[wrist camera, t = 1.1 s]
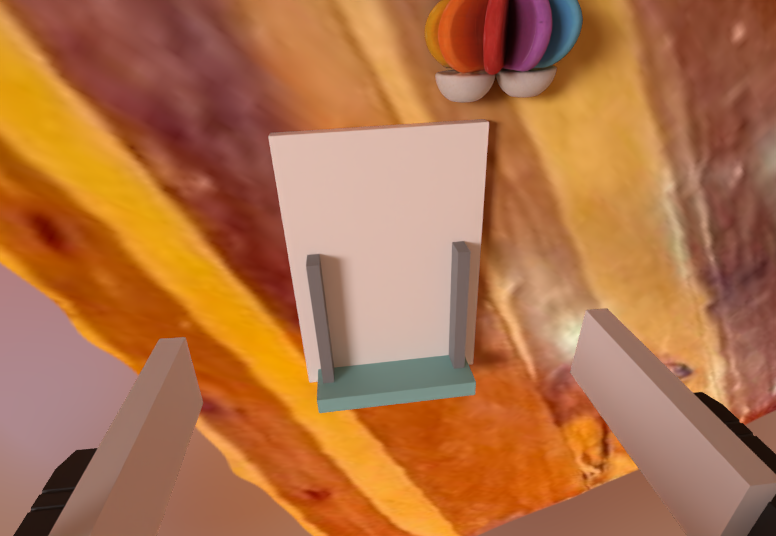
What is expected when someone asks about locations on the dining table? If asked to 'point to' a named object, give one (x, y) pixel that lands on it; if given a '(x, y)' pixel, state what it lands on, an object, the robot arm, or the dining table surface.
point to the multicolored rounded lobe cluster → (500, 44)
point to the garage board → (385, 256)
